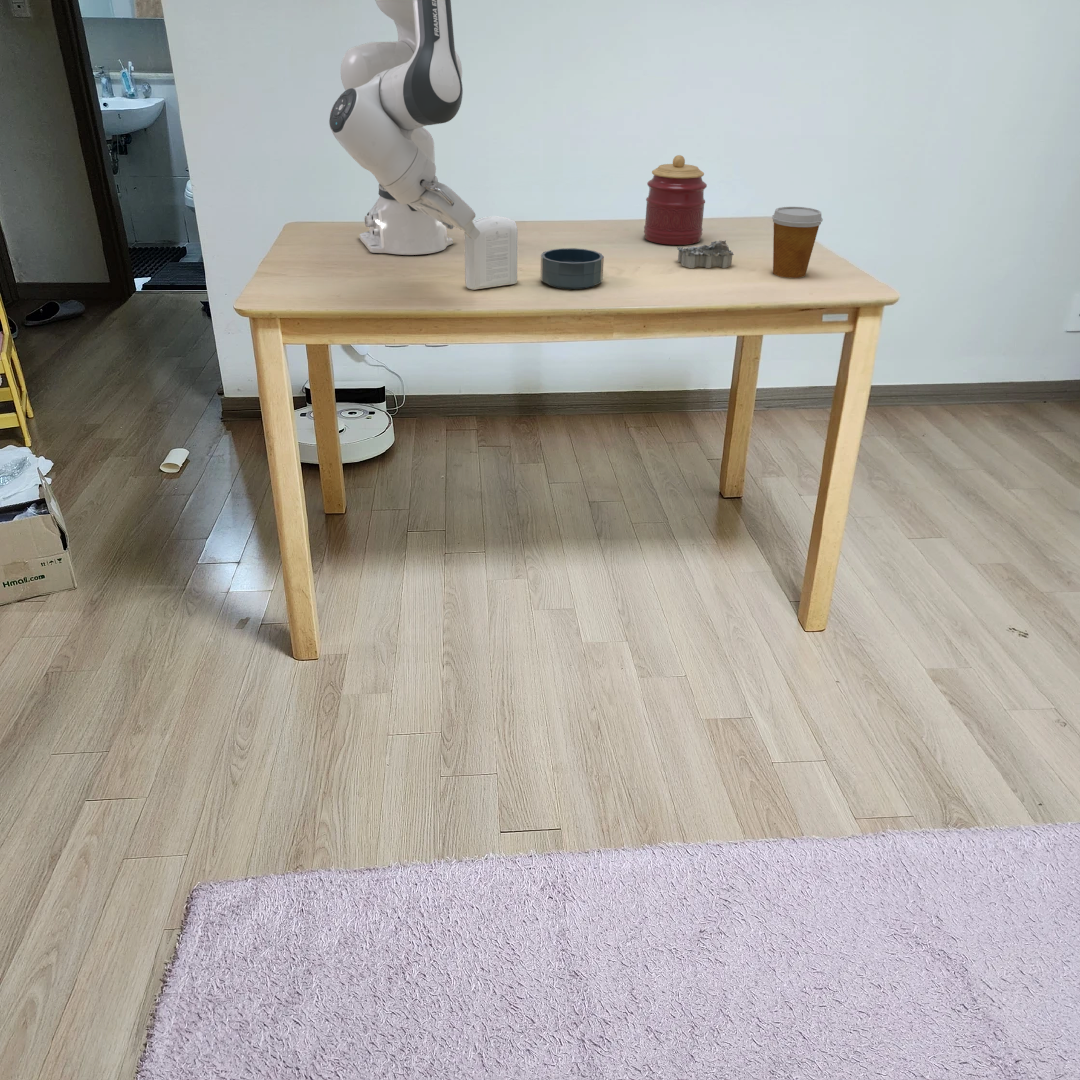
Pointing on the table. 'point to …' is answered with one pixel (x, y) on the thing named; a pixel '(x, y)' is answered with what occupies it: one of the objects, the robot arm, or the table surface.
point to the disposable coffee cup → (794, 239)
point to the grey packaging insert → (706, 255)
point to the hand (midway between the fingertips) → (464, 230)
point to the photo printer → (491, 253)
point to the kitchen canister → (675, 204)
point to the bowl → (572, 268)
